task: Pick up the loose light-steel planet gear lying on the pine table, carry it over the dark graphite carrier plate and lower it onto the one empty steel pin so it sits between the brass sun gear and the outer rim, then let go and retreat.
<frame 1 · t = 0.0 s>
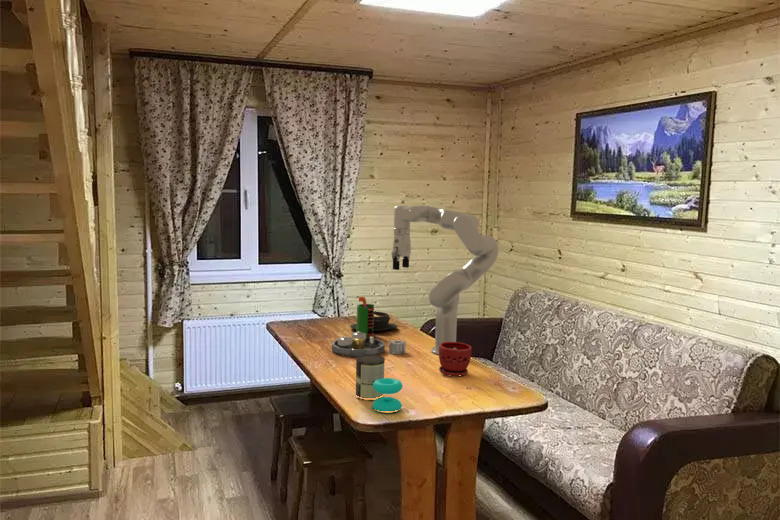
hand: (400, 268, 311), 37 cm above the table, tool pointing down, fingers open, 9 cm apart
plant pot: (454, 374, 270), on the table
coffee can: (369, 397, 239), on the table
donuts: (387, 410, 225), on the table
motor: (365, 337, 331), on the table
carrier: (358, 350, 303), on the table
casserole: (373, 330, 346), on the table
planet gear: (397, 352, 301), on the table
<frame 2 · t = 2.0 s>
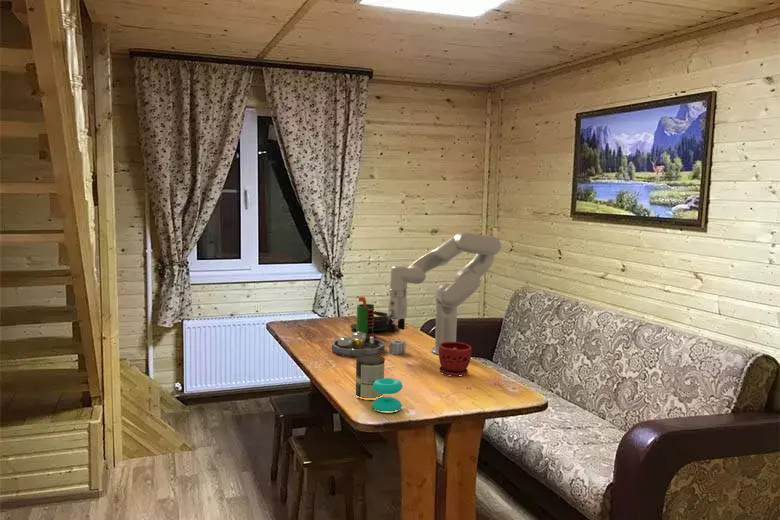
hand: (395, 330, 299), 10 cm above the table, tool pointing down, fingers open, 9 cm apart
nothing on the table moved.
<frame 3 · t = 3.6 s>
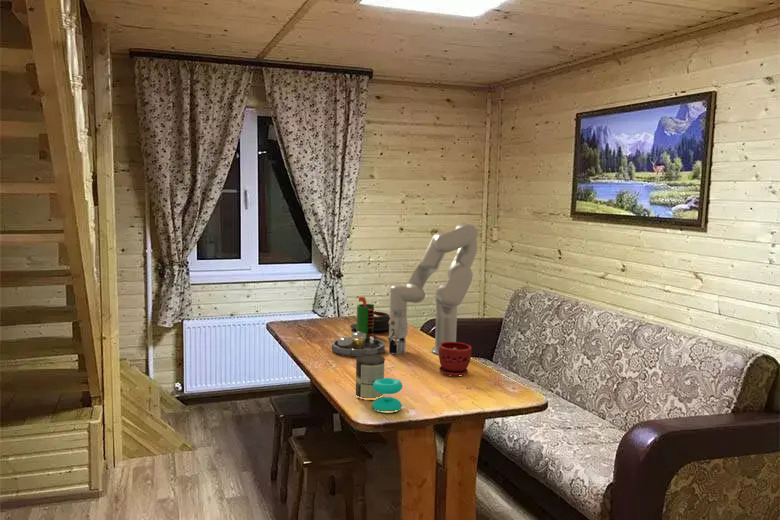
hand: (397, 350, 301), 1 cm above the table, tool pointing down, fingers closed on planet gear, 7 cm apart
planet gear: (397, 352, 301), on the table, touching gripper
everything else where it was.
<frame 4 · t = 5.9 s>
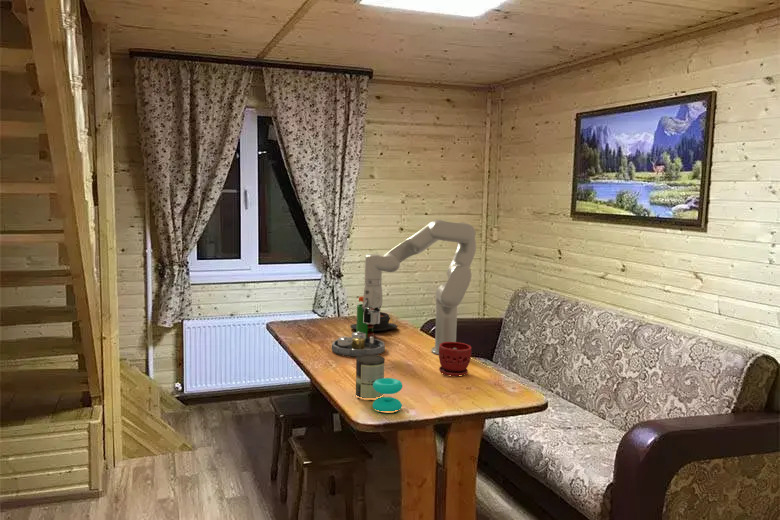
hand: (371, 320, 298), 15 cm above the table, tool pointing down, fingers closed on planet gear, 7 cm apart
planet gear: (371, 322, 299), point 14 cm above the table, touching gripper
everything else where it was.
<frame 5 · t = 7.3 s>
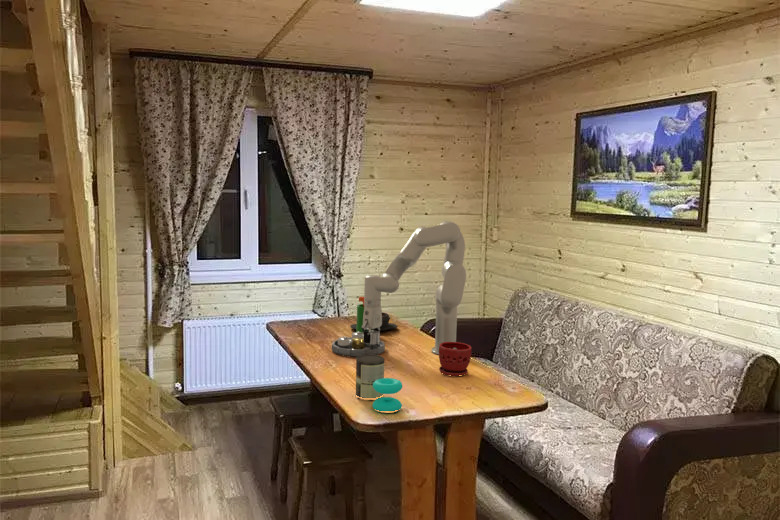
hand: (371, 340, 300), 5 cm above the table, tool pointing down, fingers closed on planet gear, 7 cm apart
planet gear: (371, 342, 300), point 4 cm above the table, touching gripper
everything else where it was.
when the fingers open (5 cm above the table, at t = 8.4 s): planet gear drops 3 cm, resting on carrier.
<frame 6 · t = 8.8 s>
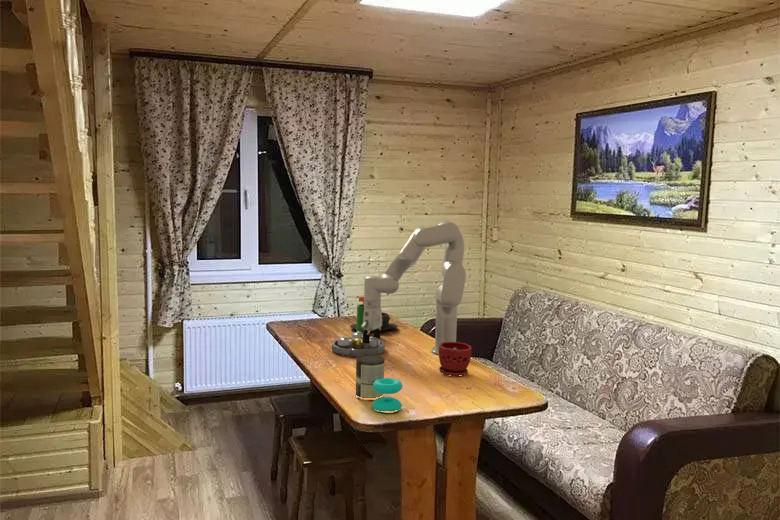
hand: (371, 340, 300), 5 cm above the table, tool pointing down, fingers open, 9 cm apart
planet gear: (371, 349, 300), point 1 cm above the table, touching carrier
everything else where it was.
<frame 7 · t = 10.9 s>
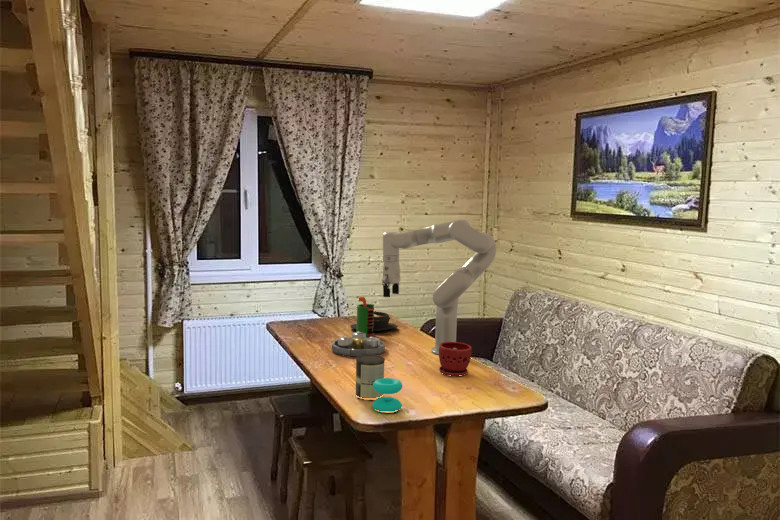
hand: (391, 295, 308), 24 cm above the table, tool pointing down, fingers open, 9 cm apart
nothing on the table moved.
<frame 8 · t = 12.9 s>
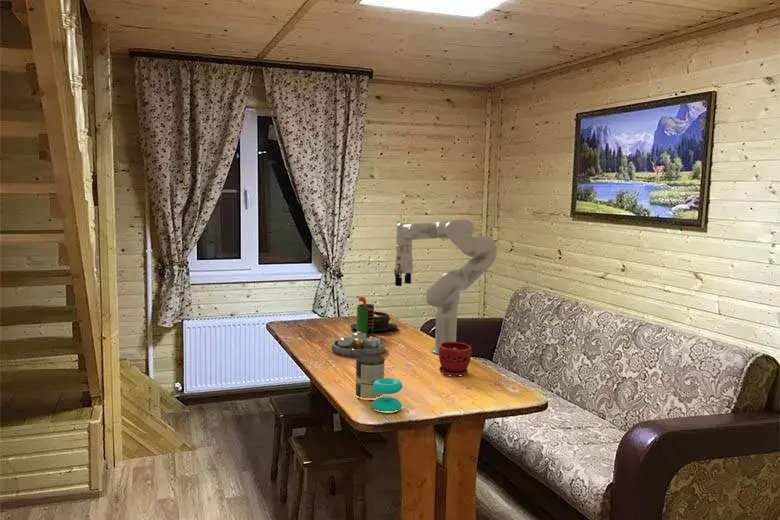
hand: (403, 284, 317), 28 cm above the table, tool pointing down, fingers open, 9 cm apart
nothing on the table moved.
at the end: planet gear 0.1 cm from the target spot on the carrier, point 1.2 cm above the carrier's base; planet gear tilted 0°; the gripper is holding nothing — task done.
